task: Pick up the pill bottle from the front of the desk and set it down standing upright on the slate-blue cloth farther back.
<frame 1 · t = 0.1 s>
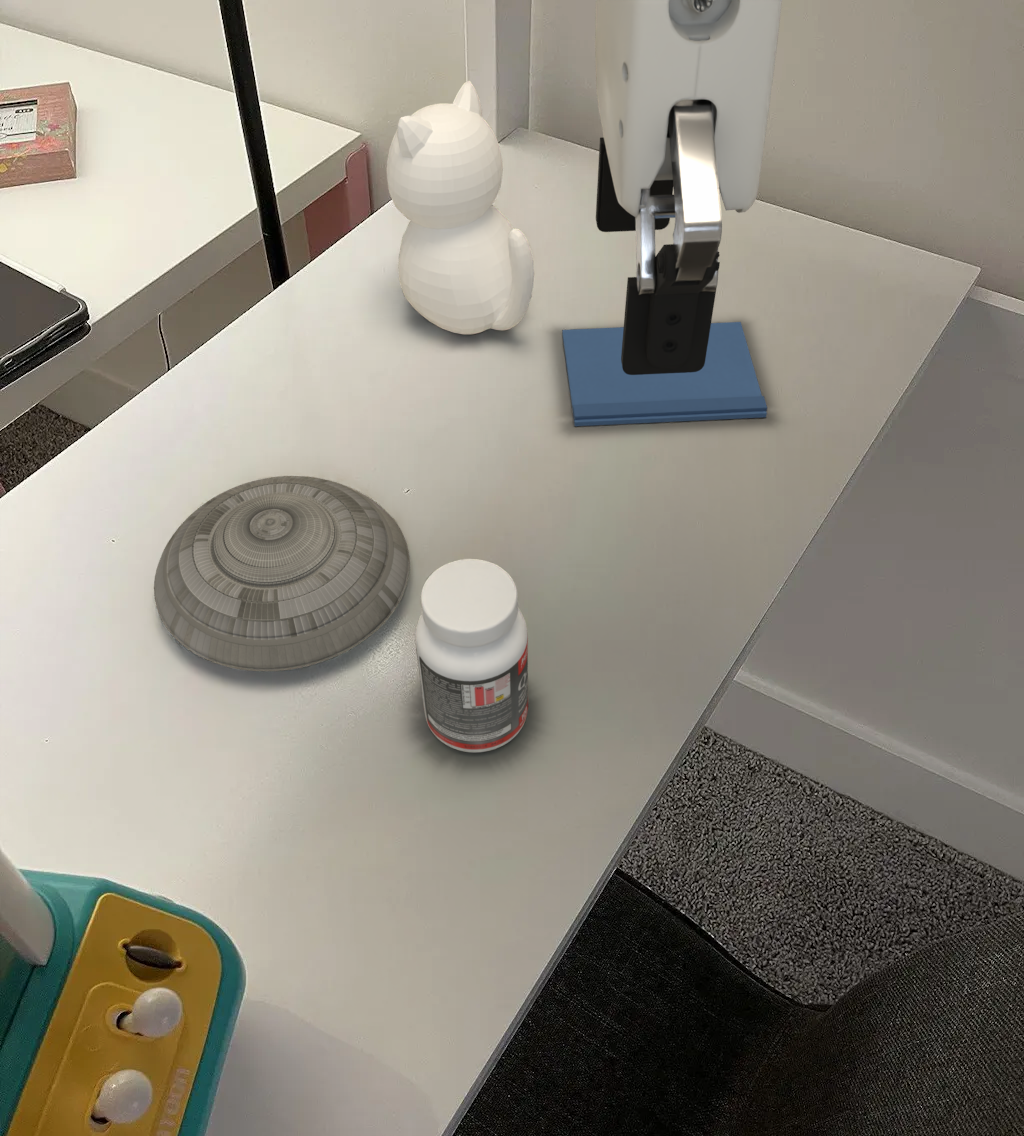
hand: (645, 293, 47), 23 cm above the table, tool pointing down, fingers open, 9 cm apart
cloth: (660, 374, 79), on the table
pill bottle: (476, 714, 62), on the table
flying saucer: (287, 588, 68), on the table
cat figurine: (471, 315, 84), on the table
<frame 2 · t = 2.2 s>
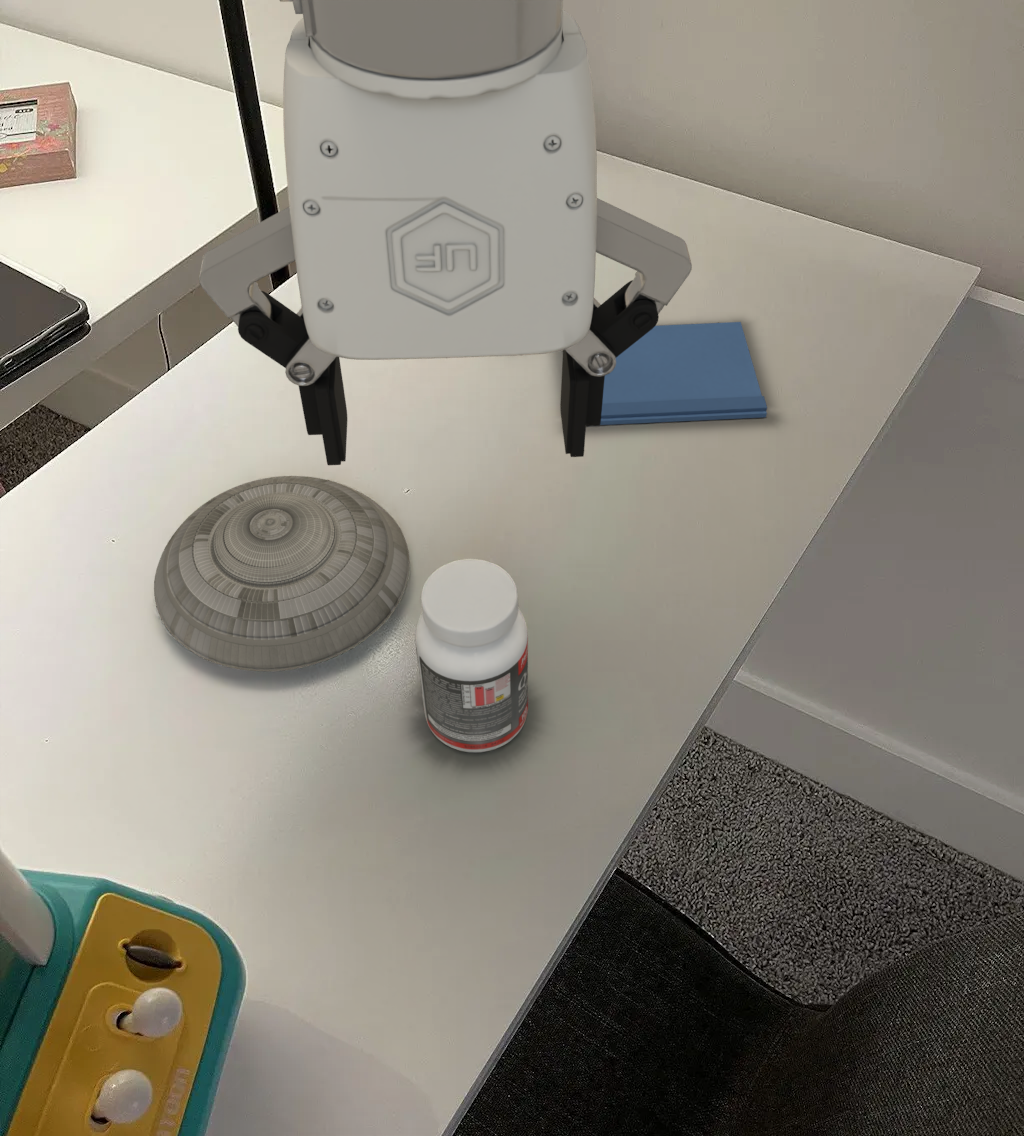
hand: (455, 438, 46), 20 cm above the table, tool pointing down, fingers open, 9 cm apart
nothing on the table moved.
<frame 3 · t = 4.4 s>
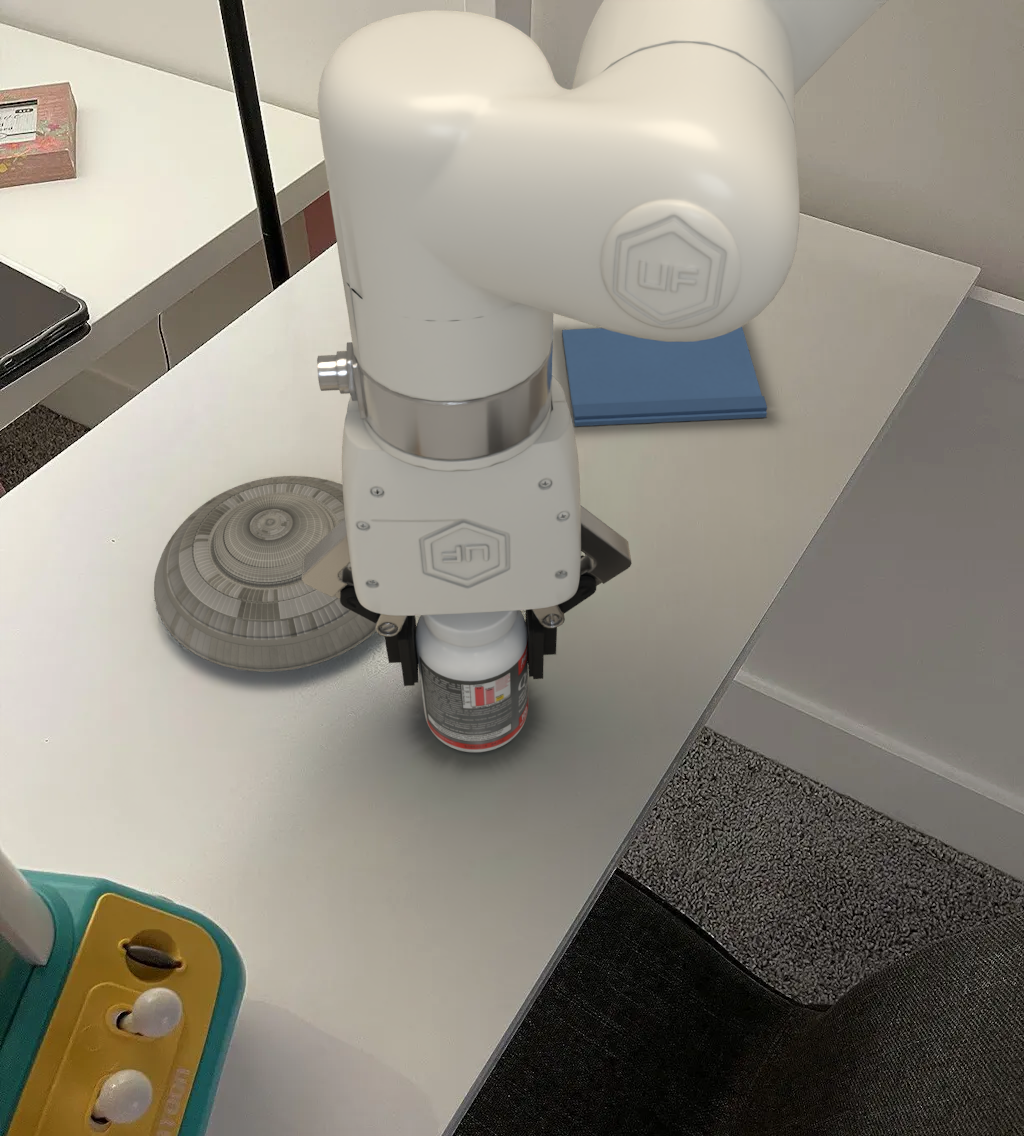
hand: (472, 658, 58), 5 cm above the table, tool pointing down, fingers closed on pill bottle, 5 cm apart
pill bottle: (476, 714, 62), on the table, touching gripper
everything else where it was.
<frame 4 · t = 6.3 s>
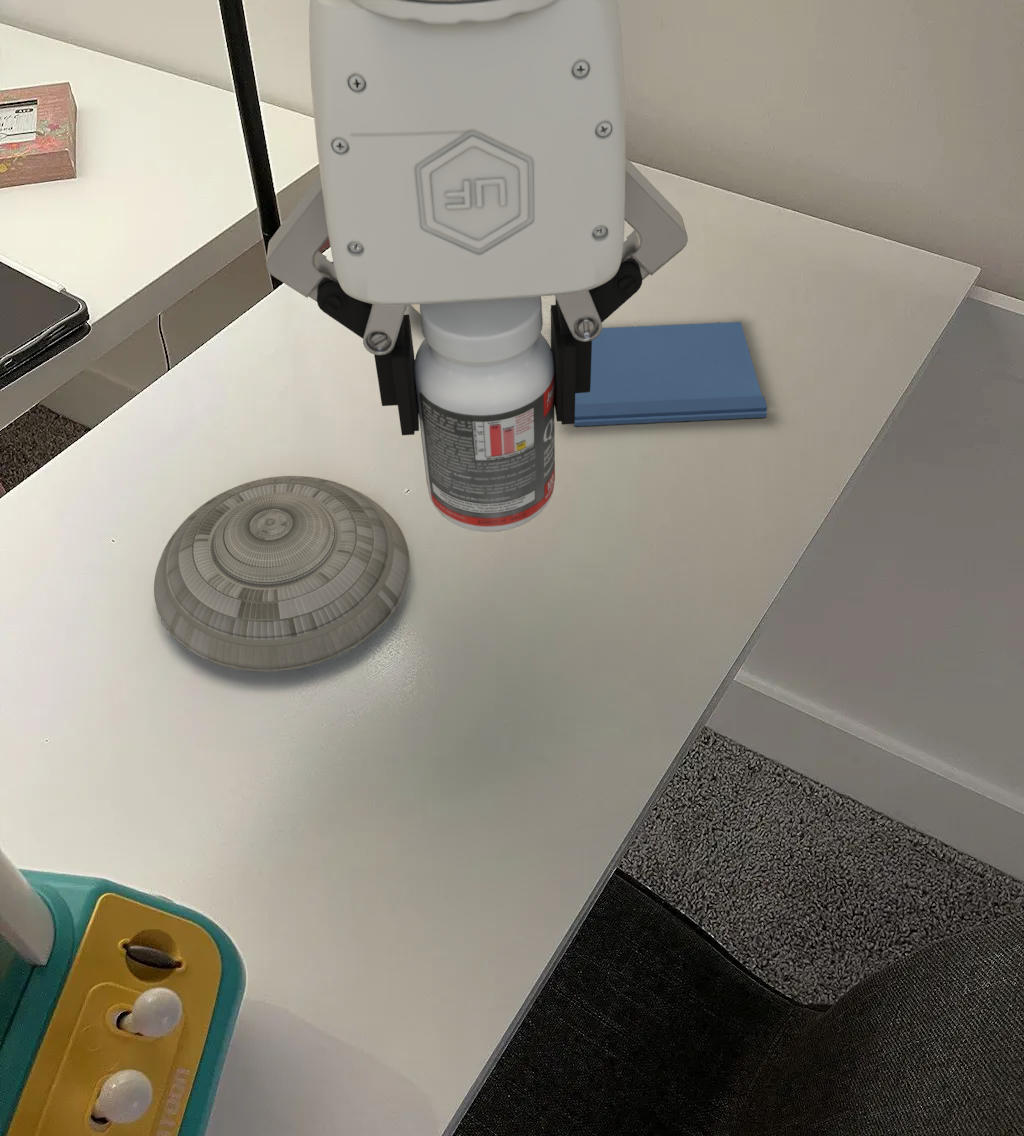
hand: (486, 404, 47), 20 cm above the table, tool pointing down, fingers closed on pill bottle, 5 cm apart
pill bottle: (491, 494, 51), point 15 cm above the table, touching gripper
everything else where it was.
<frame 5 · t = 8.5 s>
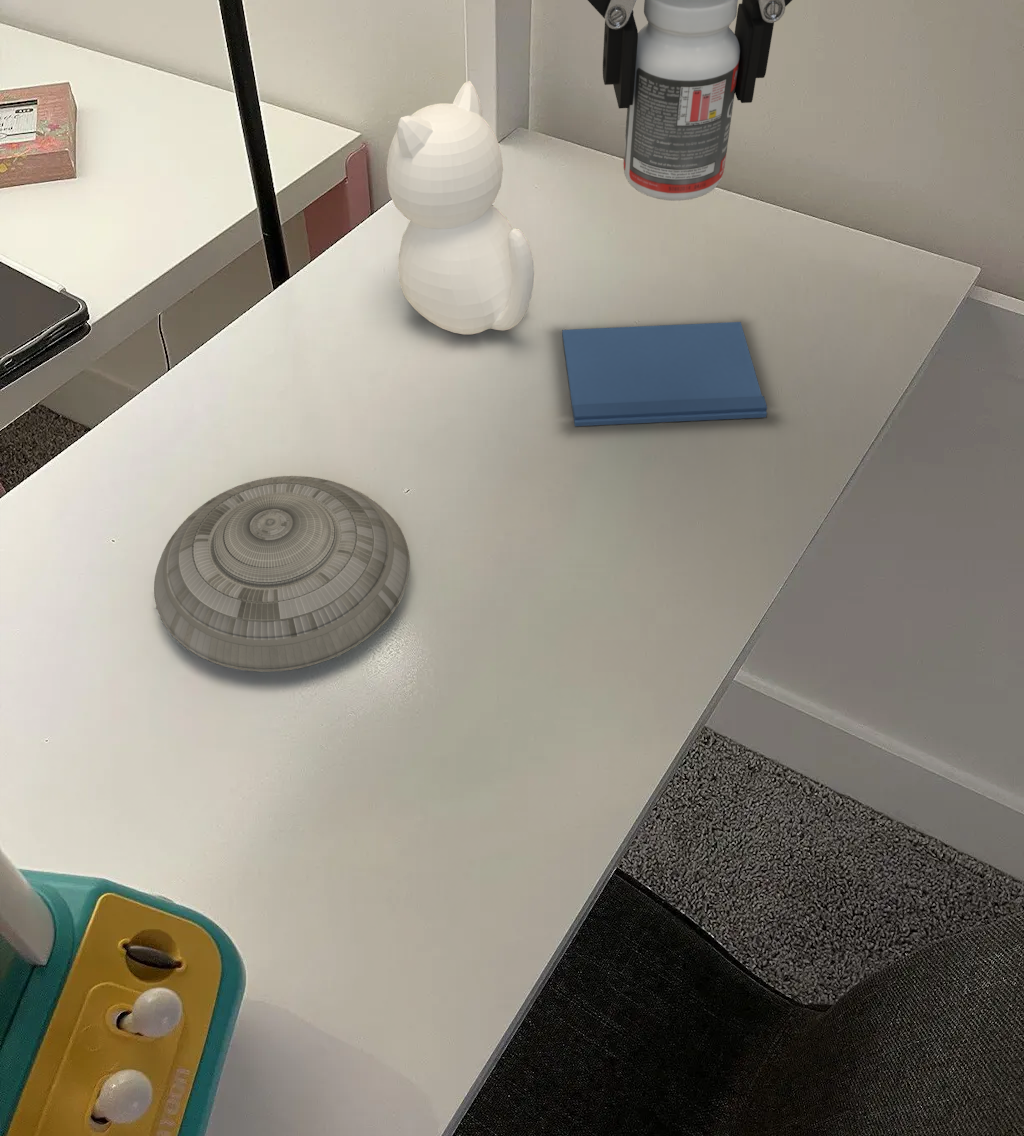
hand: (681, 90, 61), 21 cm above the table, tool pointing down, fingers closed on pill bottle, 5 cm apart
pill bottle: (671, 180, 65), point 16 cm above the table, touching gripper
everything else where it was.
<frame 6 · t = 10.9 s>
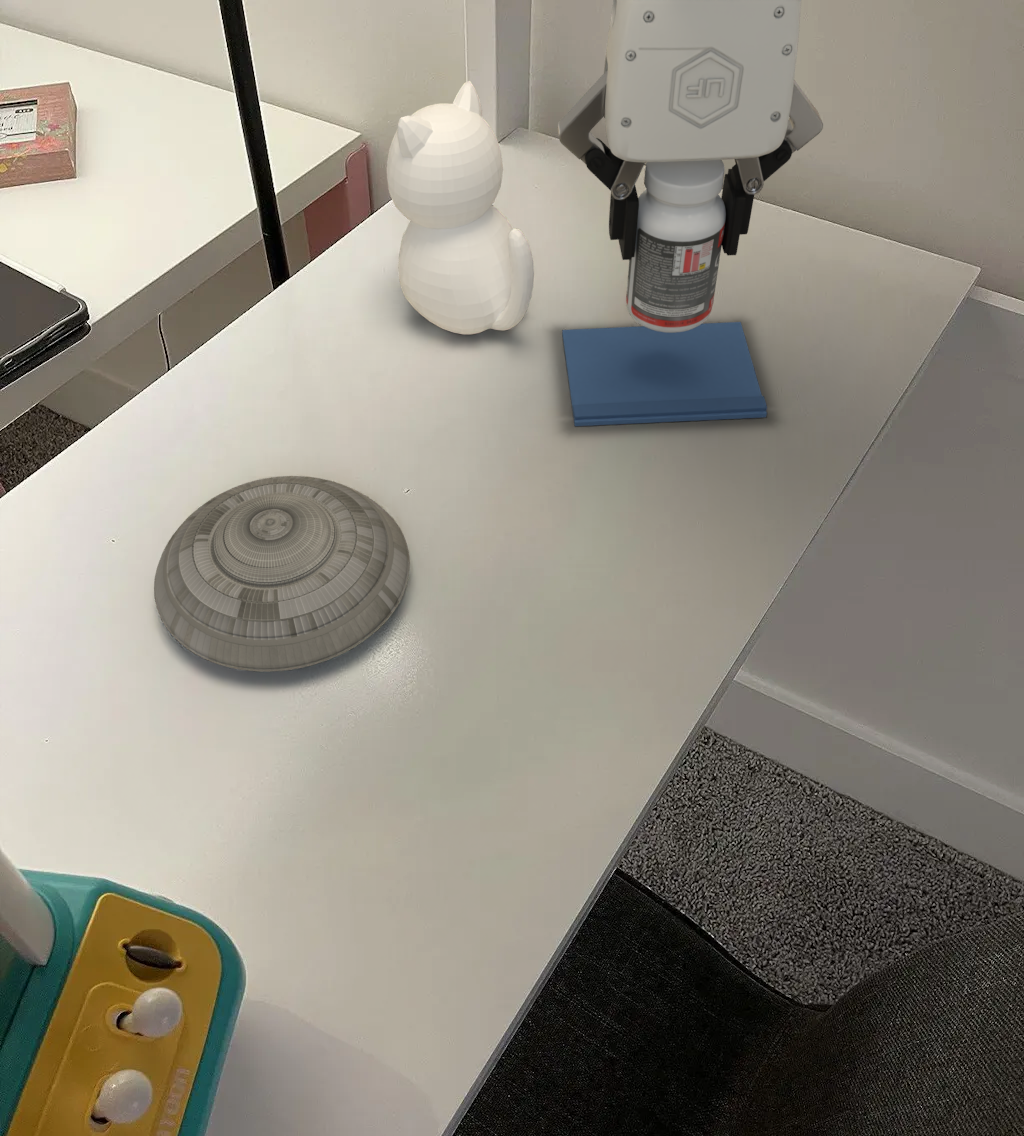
hand: (676, 242, 71), 10 cm above the table, tool pointing down, fingers closed on pill bottle, 5 cm apart
pill bottle: (668, 312, 75), point 5 cm above the table, touching gripper
everything else where it was.
when the fingers open (5 cm above the table, at t = 12.6 s): pill bottle stays where it is, resting on cloth.
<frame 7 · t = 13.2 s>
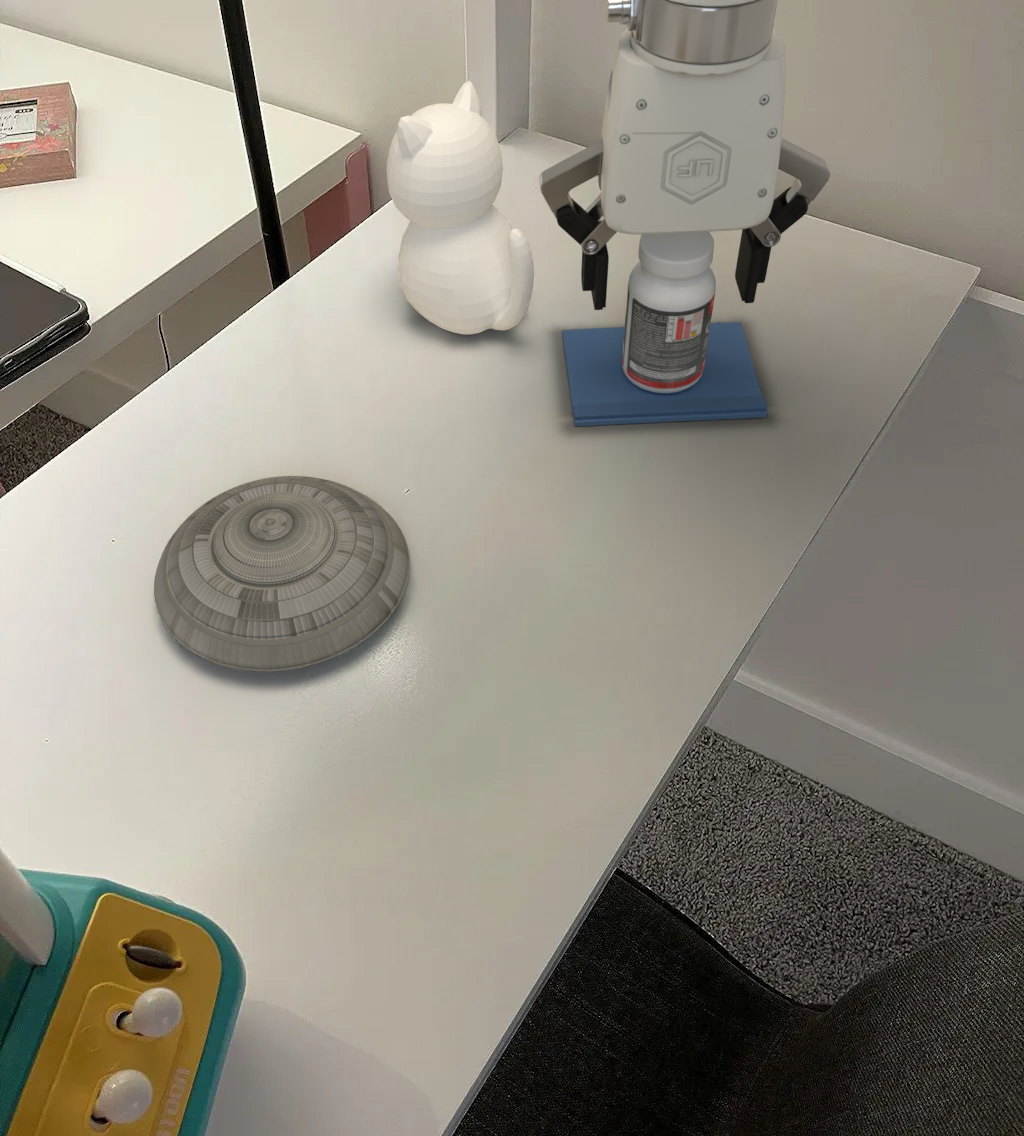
hand: (670, 294, 74), 7 cm above the table, tool pointing down, fingers open, 9 cm apart
pill bottle: (661, 372, 79), resting on cloth
everything else where it was.
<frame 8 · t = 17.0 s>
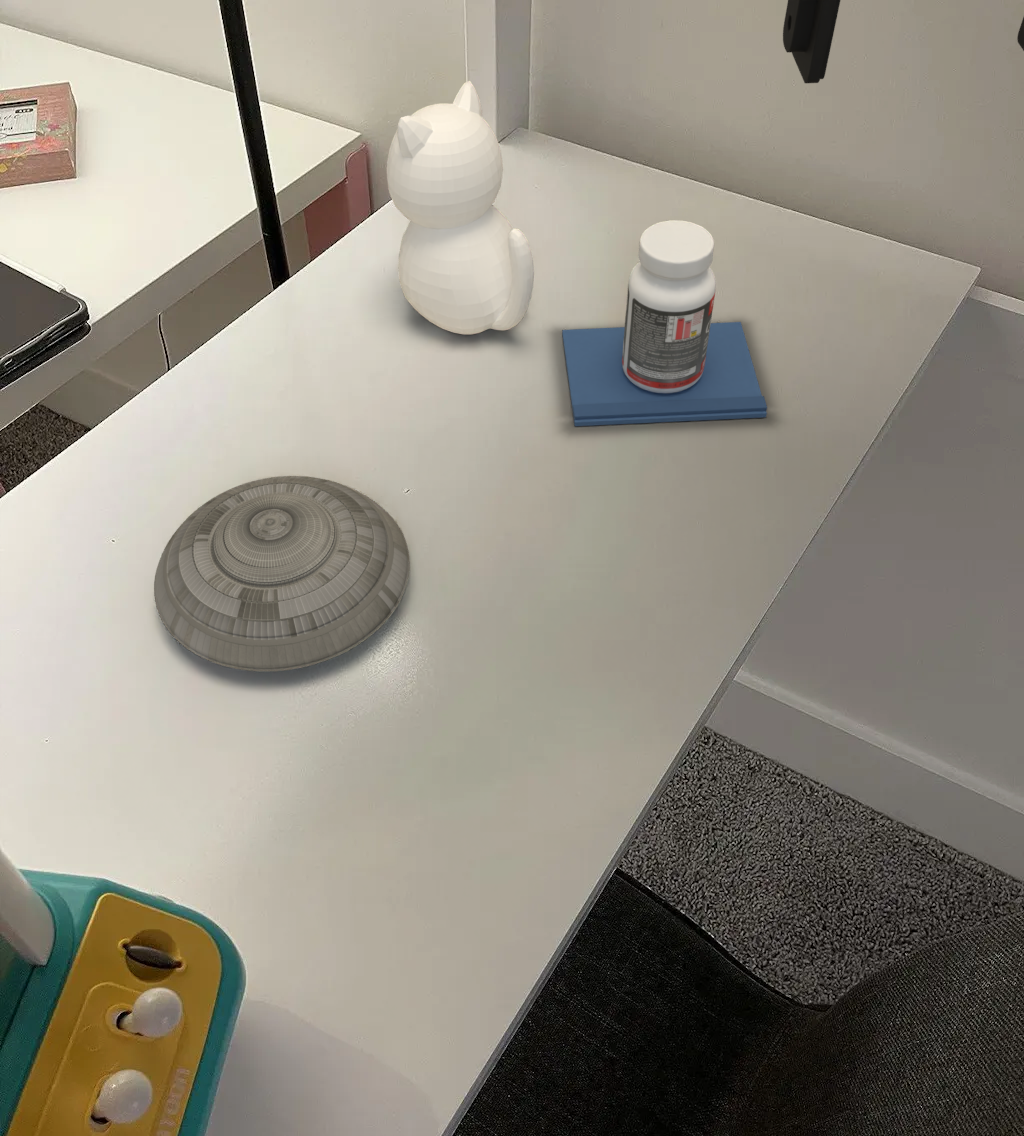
hand: (921, 63, 47), 28 cm above the table, tool pointing down, fingers open, 9 cm apart
nothing on the table moved.
at the end: pill bottle inside the target area on the cloth (0.1 cm from its centre), point 0.2 cm above the cloth's base; pill bottle tilted 0°; the gripper is holding nothing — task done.
